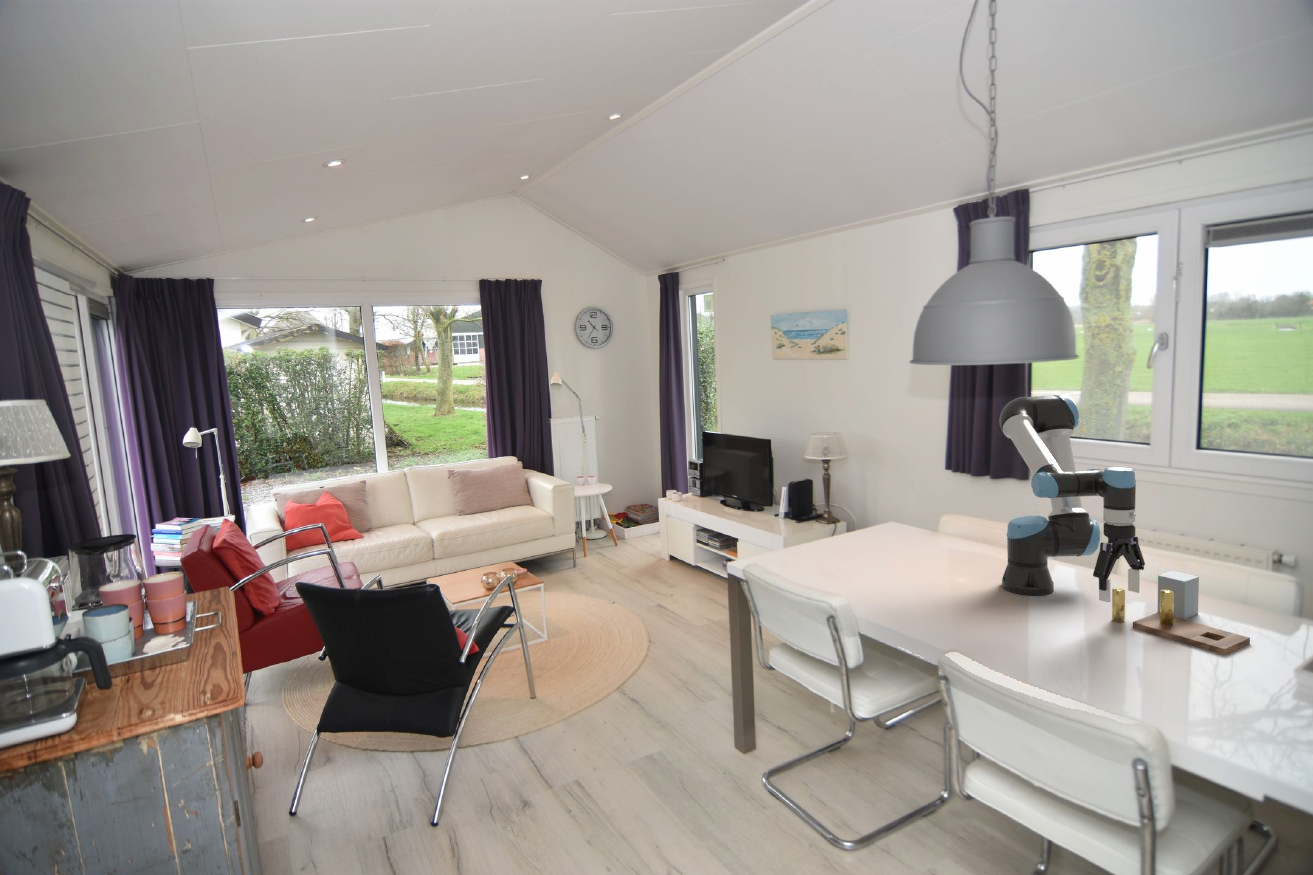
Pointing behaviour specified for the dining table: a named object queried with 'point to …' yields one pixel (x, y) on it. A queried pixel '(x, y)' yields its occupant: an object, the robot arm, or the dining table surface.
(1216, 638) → the board
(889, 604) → the dining table surface
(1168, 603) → the pin
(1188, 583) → the block
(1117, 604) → the pin
